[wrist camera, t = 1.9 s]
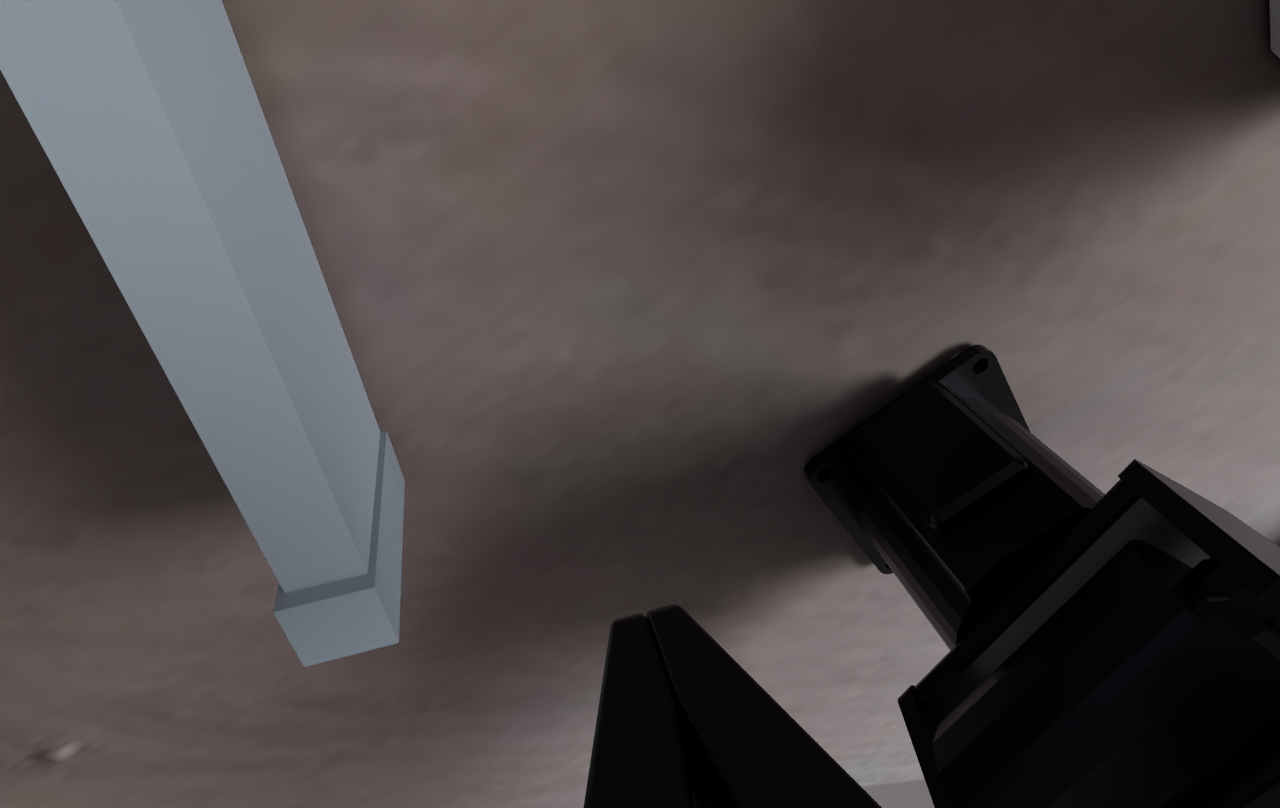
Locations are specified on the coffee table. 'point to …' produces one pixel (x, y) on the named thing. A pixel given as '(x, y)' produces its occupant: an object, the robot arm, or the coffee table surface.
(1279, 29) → the disposable coffee cup
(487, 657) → the coffee table surface
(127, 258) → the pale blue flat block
